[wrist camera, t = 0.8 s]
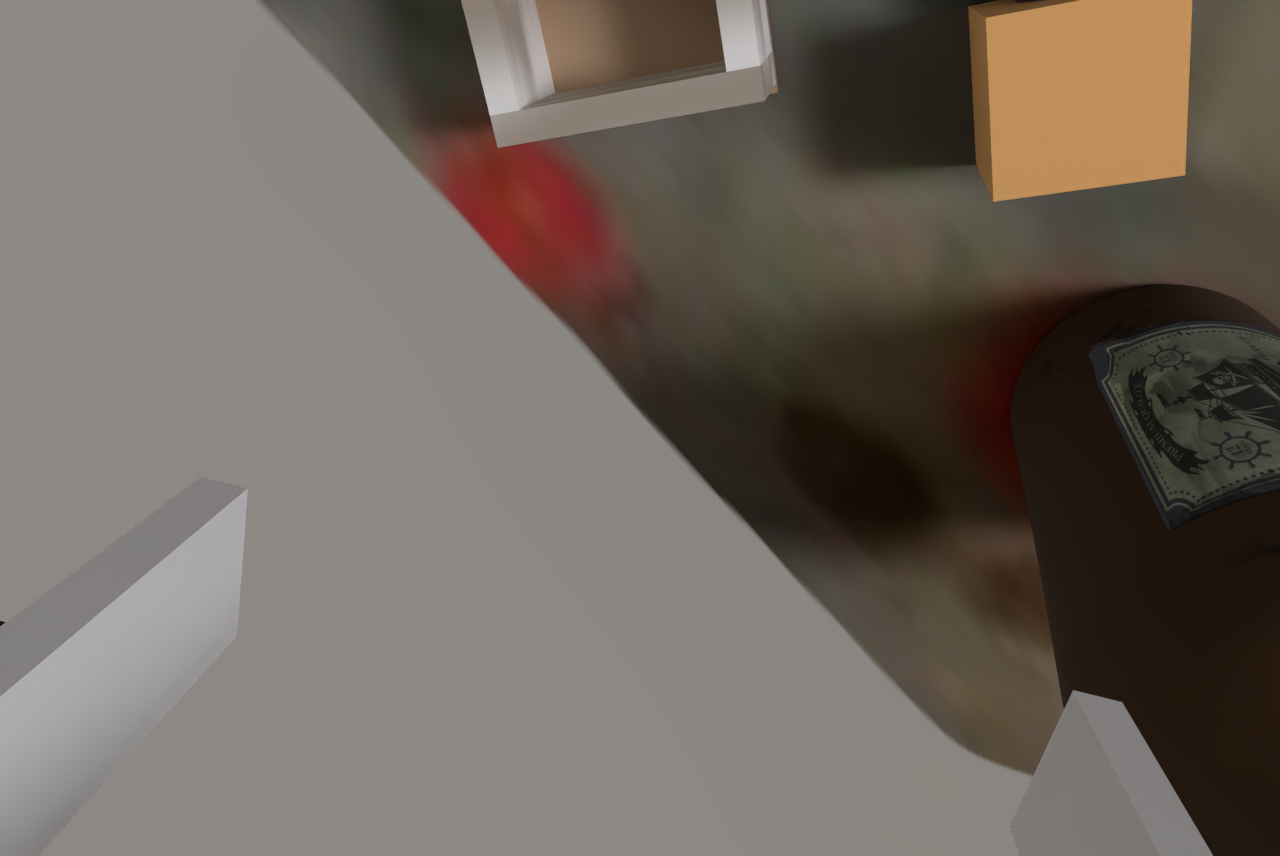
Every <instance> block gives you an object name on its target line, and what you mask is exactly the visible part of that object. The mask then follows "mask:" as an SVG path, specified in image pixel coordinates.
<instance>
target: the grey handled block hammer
mask: <svg viewBox="0 0 1280 856" xmlns="http://www.w3.org/2000/svg"><path fill="white" fill-rule="evenodd" d="M968 10H969V31H970V51H971V72H972V93H973V113H974V134H975V154H976V166H977V168H978V170H979V172H980V174H981V176H982V179H983V181H984V183H985V185H986V187H987V189H988V191H989V193H990V195H991V197H992V200H993V202H995V201H1002V200H1010V199H1017V198H1024V197H1031V196H1039V195H1046V194H1053V193H1061V192H1068V191H1075V190H1082V189H1090V188H1097V187H1104V186H1111V185H1119V184H1126V183H1133V182H1140V181H1148V180H1155V179H1162V178H1169V177H1177V176H1184V175H1185V168H1186V143H1187V118H1188V93H1189V68H1190V44H1191V19H1192V0H997V1H992V2H987V3H982V4H976V5H971V6H968Z"/></svg>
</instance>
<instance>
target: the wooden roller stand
mask: <svg viewBox="0 0 1280 856" xmlns="http://www.w3.org/2000/svg"><path fill="white" fill-rule="evenodd" d="M461 2H462V6H463V10H464V14H465V18H466V22H467V26H468V30H469V34H470V38H471V42H472V46H473V50H474V54H475V58H476V62H477V66H478V70H479V74H480V78H481V82H482V86H483V90H484V94H485V98H486V102H487V106H488V110H489V114H490V118H491V122H492V126H493V130H494V134H495V138H496V142H497V146H498V148H499V147H505V146H511V145H517V144H522V143H528V142H534V141H539V140H545V139H551V138H556V137H562V136H568V135H574V134H579V133H585V132H591V131H596V130H602V129H608V128H614V127H619V126H625V125H631V124H636V123H642V122H648V121H654V120H659V119H665V118H671V117H676V116H682V115H688V114H694V113H699V112H705V111H711V110H716V109H722V108H728V107H734V106H739V105H745V104H751V103H756V102H762V101H765V100H766V98H767V97H768V95H769V94H772V93H777V92H778V90H779V89H778V81H777V74H776V66H775V58H774V50H773V42H772V35H771V27H770V19H769V11H768V3H767V0H461Z"/></svg>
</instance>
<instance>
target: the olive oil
mask: <svg viewBox="0 0 1280 856" xmlns="http://www.w3.org/2000/svg"><path fill="white" fill-rule="evenodd" d="M1011 431H1012V438H1013V443H1014V448H1015V452H1016V457H1017V461H1018V465H1019V470H1020V474H1021V479H1022V483H1023V487H1024V492H1025V496H1026V501H1027V505H1028V510H1029V516H1030V521H1031V526H1032V532H1033V537H1034V542H1035V548H1036V553H1037V558H1038V564H1039V569H1040V574H1041V580H1042V585H1043V591H1044V596H1045V602H1046V608H1047V614H1048V620H1049V625H1050V631H1051V637H1052V643H1053V649H1054V655H1055V661H1056V667H1057V673H1058V679H1059V685H1060V691H1061V696H1062V702H1063V707H1064V709H1065V706H1066V704H1067V702H1068V700H1069V698H1070V696H1071V693H1072V691H1073V690H1075V691H1079V692H1083V693H1087V694H1091V695H1095V696H1099V697H1103V698H1107V699H1111V700H1115V701H1120V702H1122V703H1123V704H1124V706H1125V708H1126V710H1127V711H1128V713H1129V715H1130V716H1131V718H1132V720H1133V721H1134V723H1135V725H1136V726H1137V728H1138V730H1139V731H1140V733H1141V735H1142V737H1143V738H1144V740H1145V742H1146V743H1147V745H1148V747H1149V748H1150V750H1151V752H1152V753H1153V755H1154V757H1155V758H1156V760H1157V762H1158V763H1159V765H1160V767H1161V769H1162V770H1163V772H1164V774H1165V775H1166V777H1167V779H1168V780H1169V782H1170V784H1171V785H1172V787H1173V789H1174V790H1175V792H1176V794H1177V796H1178V797H1179V799H1180V801H1181V802H1182V804H1183V806H1184V807H1185V809H1186V811H1187V812H1188V814H1189V816H1190V817H1191V819H1192V821H1193V823H1194V824H1195V826H1196V828H1197V829H1198V831H1199V833H1200V834H1201V836H1202V838H1203V839H1204V841H1205V843H1206V844H1207V846H1208V848H1209V849H1210V851H1211V853H1212V855H1213V856H1280V329H1279V328H1277V327H1276V326H1275V325H1274V324H1273V323H1271V322H1270V321H1269V320H1268V319H1266V318H1265V317H1264V316H1263V315H1261V314H1260V313H1259V312H1257V311H1256V310H1254V309H1253V308H1251V307H1250V306H1248V305H1246V304H1245V303H1243V302H1241V301H1239V300H1237V299H1235V298H1232V297H1230V296H1227V295H1225V294H1222V293H1219V292H1216V291H1212V290H1208V289H1204V288H1199V287H1192V286H1183V285H1158V286H1148V287H1141V288H1136V289H1131V290H1127V291H1123V292H1120V293H1116V294H1113V295H1110V296H1108V297H1105V298H1103V299H1100V300H1098V301H1096V302H1094V303H1092V304H1090V305H1088V306H1086V307H1084V308H1082V309H1080V310H1079V311H1077V312H1075V313H1074V314H1072V315H1071V316H1069V317H1068V318H1067V319H1065V320H1064V321H1063V322H1061V323H1060V324H1059V325H1058V326H1056V327H1055V328H1054V329H1053V330H1052V331H1051V332H1050V333H1049V334H1048V335H1047V336H1046V337H1045V338H1044V339H1043V340H1042V341H1041V342H1040V344H1039V345H1038V346H1037V347H1036V348H1035V350H1034V351H1033V353H1032V354H1031V355H1030V357H1029V359H1028V360H1027V362H1026V364H1025V365H1024V367H1023V369H1022V371H1021V373H1020V376H1019V378H1018V381H1017V383H1016V386H1015V390H1014V394H1013V399H1012V405H1011Z"/></svg>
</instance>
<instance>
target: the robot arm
mask: <svg viewBox="0 0 1280 856" xmlns="http://www.w3.org/2000/svg"><path fill="white" fill-rule="evenodd" d="M247 491H248V488H243V487H240V486H236V485H232V484H228V483H223V482H219V481H215V480H211V479H207V478H203V477H200V478H198V479H197V480H196V481H194V482H193V483H192V484H190V485H189V486H188V487H186V488H185V489H184V490H182V491H181V492H180V493H178V494H177V495H176V496H174V497H173V498H172V499H170V500H169V501H168V502H166V503H165V504H164V505H162V506H161V507H159V508H158V509H157V510H155V511H154V512H153V513H151V514H150V515H149V516H147V517H146V518H145V519H143V520H142V521H141V522H139V523H138V524H137V525H135V526H134V527H133V528H131V529H130V530H129V531H127V532H126V533H125V534H123V535H122V536H121V537H119V538H118V539H117V540H115V541H114V542H113V543H111V544H110V545H109V546H107V547H106V548H105V549H103V550H102V551H101V552H99V553H98V554H97V555H95V556H94V557H93V558H91V559H90V560H89V561H87V562H86V563H85V564H83V565H82V566H80V567H79V568H78V569H77V570H75V571H74V572H73V573H71V574H70V575H68V576H67V577H66V578H65V579H63V580H62V581H60V582H59V583H58V584H57V585H55V586H54V587H52V588H51V589H50V590H49V591H47V592H46V593H44V594H43V595H42V596H40V597H39V598H38V599H36V600H35V601H34V602H32V603H31V604H30V605H28V606H27V607H26V608H24V609H23V610H22V611H20V612H19V613H18V614H16V615H15V616H14V617H12V618H11V619H10V620H8V621H7V622H2V621H0V856H39V855H40V854H41V853H42V851H43V850H44V849H45V848H46V847H47V846H48V845H49V843H51V841H52V840H53V839H54V838H55V837H56V836H57V835H58V834H59V833H60V831H61V830H62V829H63V828H64V827H65V826H66V825H67V824H68V823H69V821H70V820H71V819H72V818H73V817H74V816H75V815H76V814H77V813H78V811H79V810H80V809H81V808H82V807H83V806H84V805H85V803H86V802H87V801H88V800H89V799H90V798H91V797H92V796H93V795H94V794H95V793H96V791H97V790H98V789H99V788H100V787H101V786H102V785H103V784H104V783H105V781H106V780H107V779H108V778H109V777H110V776H111V775H112V774H113V772H114V771H115V770H116V769H117V768H118V767H119V766H120V765H121V764H122V762H123V761H124V760H125V759H126V758H127V757H128V756H129V755H130V754H131V753H132V751H133V750H134V749H135V748H136V747H137V746H138V745H139V744H140V743H141V741H142V740H143V739H144V738H145V737H146V736H147V735H148V734H149V732H150V731H151V730H152V729H153V728H154V727H155V726H156V725H157V724H158V723H159V721H160V720H161V719H162V718H163V717H164V716H165V715H166V714H167V713H168V711H169V710H170V709H171V708H172V707H173V706H174V705H175V704H176V703H177V701H178V700H179V699H180V698H181V697H182V696H183V695H184V693H185V692H186V691H187V690H188V689H189V688H190V687H191V686H192V685H193V683H194V682H195V681H196V680H197V679H198V678H199V677H200V676H201V675H202V674H203V672H204V671H205V670H206V669H207V668H208V667H209V666H210V665H211V664H212V663H213V661H214V660H215V659H216V658H217V657H218V656H219V655H220V654H221V652H222V651H223V650H224V649H225V648H226V647H227V646H228V645H229V643H230V642H231V641H232V640H233V639H234V638H235V637H236V636H237V631H238V617H239V602H240V589H241V574H242V561H243V546H244V532H245V519H246V505H247ZM1010 828H1011V831H1012V834H1013V837H1014V839H1015V842H1016V845H1017V848H1018V851H1019V854H1020V856H1213V855H1212V853H1211V851H1210V849H1209V848H1208V846H1207V844H1206V843H1205V841H1204V839H1203V838H1202V836H1201V834H1200V833H1199V831H1198V829H1197V828H1196V826H1195V824H1194V823H1193V821H1192V819H1191V817H1190V816H1189V814H1188V812H1187V811H1186V809H1185V807H1184V806H1183V804H1182V802H1181V801H1180V799H1179V797H1178V796H1177V794H1176V792H1175V790H1174V789H1173V787H1172V785H1171V784H1170V782H1169V780H1168V779H1167V777H1166V775H1165V774H1164V772H1163V770H1162V769H1161V767H1160V765H1159V763H1158V762H1157V760H1156V758H1155V757H1154V755H1153V753H1152V752H1151V750H1150V748H1149V747H1148V745H1147V743H1146V742H1145V740H1144V738H1143V737H1142V735H1141V733H1140V731H1139V730H1138V728H1137V726H1136V725H1135V723H1134V721H1133V720H1132V718H1131V716H1130V715H1129V713H1128V711H1127V710H1126V708H1125V706H1124V704H1123V703H1122V702H1120V701H1115V700H1111V699H1107V698H1103V697H1099V696H1095V695H1091V694H1087V693H1083V692H1079V691H1075V690H1073V691H1072V693H1071V696H1070V698H1069V700H1068V702H1067V704H1066V706H1065V709H1064V711H1063V713H1062V715H1061V717H1060V719H1059V722H1058V724H1057V726H1056V728H1055V730H1054V732H1053V735H1052V737H1051V739H1050V741H1049V743H1048V745H1047V747H1046V750H1045V752H1044V754H1043V756H1042V758H1041V760H1040V763H1039V765H1038V767H1037V769H1036V771H1035V773H1034V776H1033V778H1032V780H1031V782H1030V784H1029V786H1028V789H1027V791H1026V793H1025V795H1024V797H1023V799H1022V802H1021V804H1020V806H1019V808H1018V810H1017V812H1016V814H1015V817H1014V819H1013V821H1012V823H1011V825H1010Z"/></svg>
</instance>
